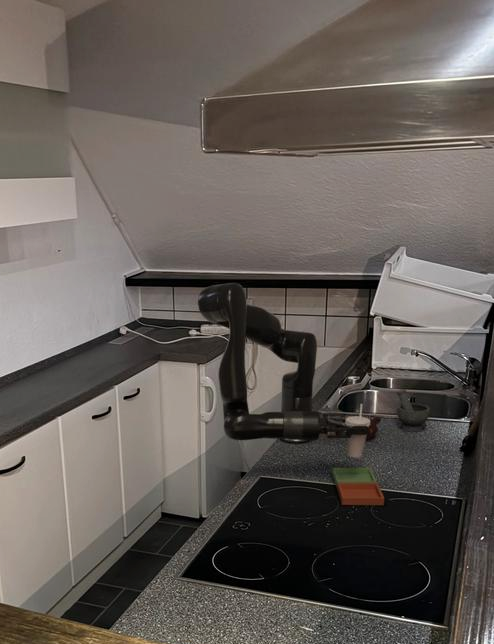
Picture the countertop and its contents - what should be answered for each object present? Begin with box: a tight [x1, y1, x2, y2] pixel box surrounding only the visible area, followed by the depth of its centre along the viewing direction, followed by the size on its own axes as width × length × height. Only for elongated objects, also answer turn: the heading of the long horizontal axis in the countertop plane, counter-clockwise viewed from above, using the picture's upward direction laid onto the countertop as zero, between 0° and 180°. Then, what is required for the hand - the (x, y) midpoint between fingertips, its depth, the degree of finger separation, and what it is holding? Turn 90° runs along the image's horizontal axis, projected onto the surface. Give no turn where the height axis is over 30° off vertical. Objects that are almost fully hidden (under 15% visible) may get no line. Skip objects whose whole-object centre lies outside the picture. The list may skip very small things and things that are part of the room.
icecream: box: [365, 416, 382, 441], centre depth 234 cm, size 7×7×15 cm
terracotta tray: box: [336, 482, 385, 506], centre depth 192 cm, size 10×10×2 cm
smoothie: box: [345, 403, 370, 459], centre depth 198 cm, size 6×6×14 cm
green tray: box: [331, 467, 378, 489], centre depth 203 cm, size 10×10×2 cm
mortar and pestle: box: [396, 388, 431, 432], centre depth 242 cm, size 11×9×12 cm
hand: (365, 426), depth 197 cm, fingers closed on smoothie, 6 cm apart
